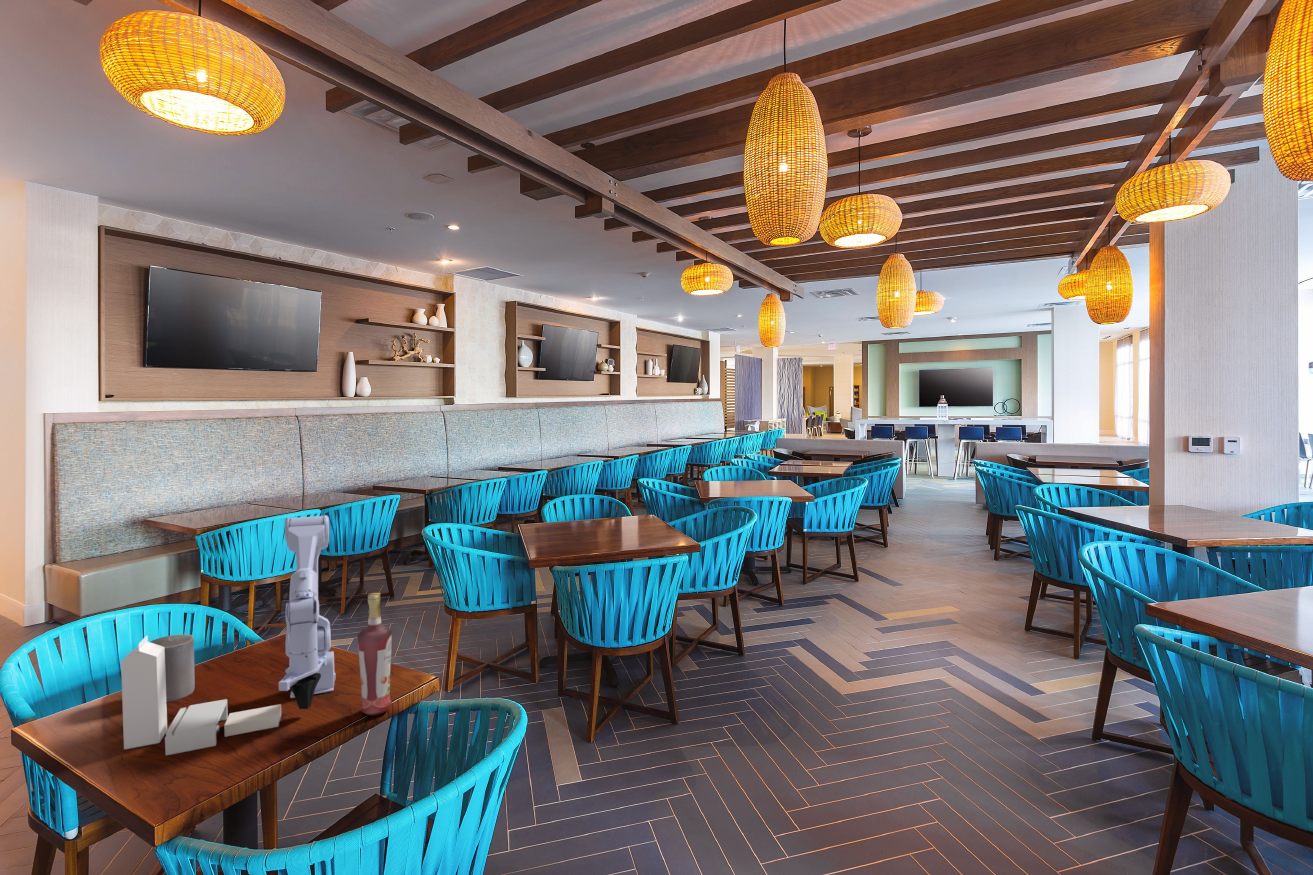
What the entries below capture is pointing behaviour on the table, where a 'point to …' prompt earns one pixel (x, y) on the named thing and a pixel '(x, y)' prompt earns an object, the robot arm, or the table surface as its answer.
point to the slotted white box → (195, 727)
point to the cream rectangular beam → (252, 720)
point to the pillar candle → (178, 665)
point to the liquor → (375, 661)
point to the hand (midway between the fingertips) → (304, 707)
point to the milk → (144, 695)
